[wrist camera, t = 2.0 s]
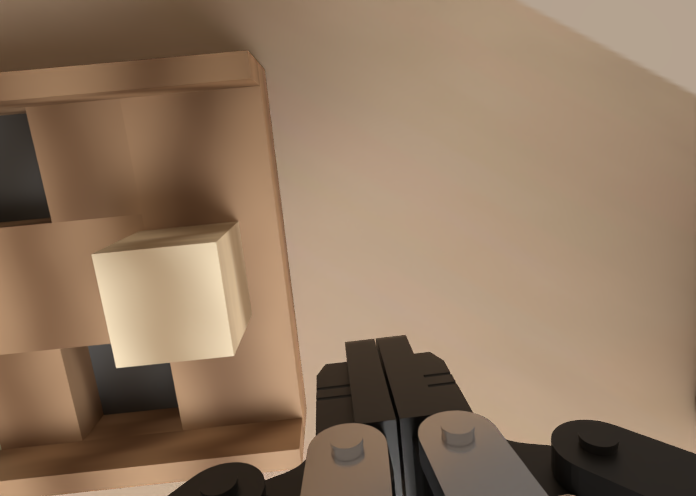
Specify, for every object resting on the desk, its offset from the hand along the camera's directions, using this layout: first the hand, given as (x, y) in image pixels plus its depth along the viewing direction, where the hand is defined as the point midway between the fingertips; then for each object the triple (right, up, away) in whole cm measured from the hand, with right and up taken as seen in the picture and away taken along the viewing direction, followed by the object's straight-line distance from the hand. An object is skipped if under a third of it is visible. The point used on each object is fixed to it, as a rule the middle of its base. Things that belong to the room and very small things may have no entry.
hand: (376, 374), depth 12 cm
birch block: (-8, +2, +10) cm, 13 cm away
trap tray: (-14, +2, +13) cm, 19 cm away
